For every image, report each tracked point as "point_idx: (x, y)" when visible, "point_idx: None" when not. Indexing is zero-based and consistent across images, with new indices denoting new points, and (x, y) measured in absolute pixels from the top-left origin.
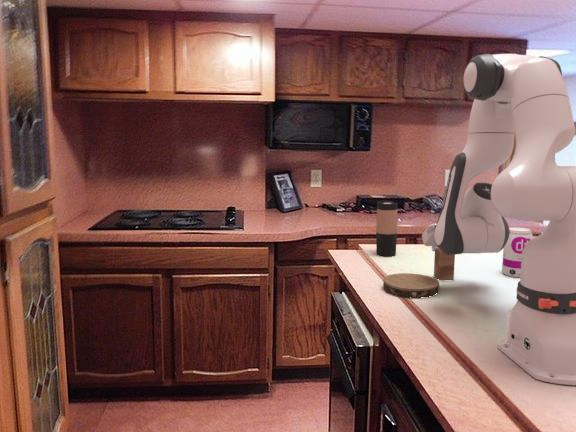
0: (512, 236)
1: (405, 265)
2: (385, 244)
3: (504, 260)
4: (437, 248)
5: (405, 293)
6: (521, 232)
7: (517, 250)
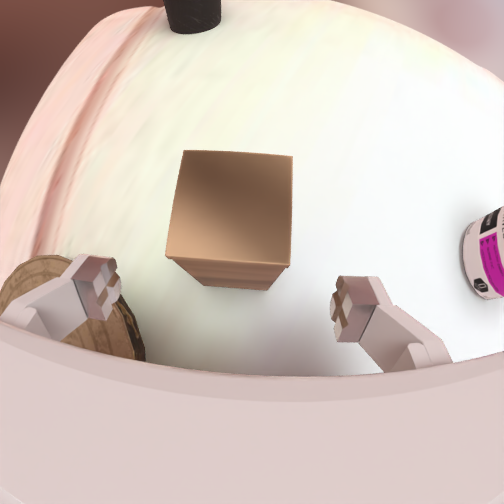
0: None
1: (186, 90)
2: (175, 6)
3: (492, 245)
4: (94, 315)
5: None
6: None
7: None
